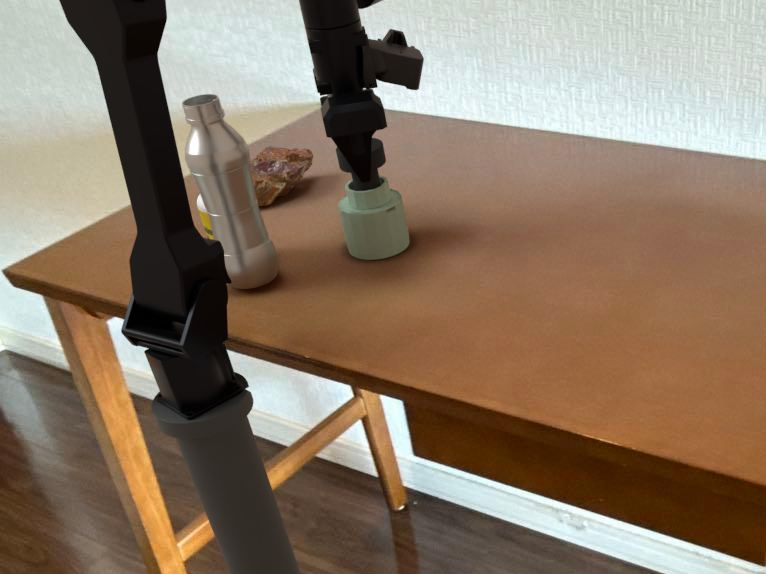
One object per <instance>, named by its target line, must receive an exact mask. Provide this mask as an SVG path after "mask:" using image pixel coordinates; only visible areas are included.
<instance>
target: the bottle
mask: <svg viewBox="0 0 766 574" xmlns="http://www.w3.org/2000/svg"><path fill="white" fill-rule="evenodd" d="M379 178H380V183H381V186H379V187H377V188H375V189H371V190H367V191H355V189H354V184H353V180H352V179H351V180H349V181H348V182H347V183H346V184H345V185H344V189H345V194H346V196H344V197H343V198H342V199H341V200H340V201H339V202H338V206H337V208H338V212H339V216H340V217H339V218H340V221H341V225H342V230H343V234H344V237H345V238H344V239H345V242H346V247H347V249H348V252H349V254H350V255H351V256H352V257H354V258H356V259H360V260H365V261H374V260H383V259H387V258H391V257H393V256H396V255H398V254H400V253H402V252H404V251H405V250H406V249H407V248H408V247H409V246H410V243H411V241H410V240H411V239H410V233H409V227H408V222H407V217H406V210H405V206H404V201H403V196H402V194H401V193H400V192H399V190H396V189H393V188H390V184H389V181H388V179H387V177H385V176H383V175H380V174H379Z"/></svg>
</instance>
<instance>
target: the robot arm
mask: <svg viewBox="0 0 766 574" xmlns="http://www.w3.org/2000/svg"><path fill="white" fill-rule="evenodd" d="M58 1H59V4H60V6H61V8H62V11H63V14H64V16H65V19H66V21H67V23H68V24H69V27H71V29H72V30H73V31H74V33H75V34H76V35H77V37H78V39H79V40H80V41H81V43H82V44H83V45H84V47H85V48H86V49H87V50H88V52H89V54H90V55H91V56H92V57H93V59H94V62H95V64H96V69H97V72H98V76H99V81H100V85H101V89H102V92H103V93H102V94H103V98H104V100H105V104H106V109H107V113H108V117H109V121H110V125H111V129H112V132H113V133H112V134H113V136H114V141H115V145H116V149H117V153H118V157H119V161H120V165H121V169H122V173H123V178H124V182H125V185H126V188H127V189H126V190H127V193H128V197H129V201H130V206H131V209H132V210H131V211H132V214H133V217H134V221H135V222H134V223H135V226H136V235H135V239H134V243H133V245H132V249H131V253H130V255H129V261H128V263H129V270H130V281H131V290H132V291H131V295H130V298H129V302H128V304H127V305H128V306H127V308H126V312H125V314H124V315H125V316H124V319H123V322H122V326H121V329H120V332H121V335H122V336H123V337H124V338H125V339H126V340H127V341H128V342H129V343H130V345H131V346H134V347H141V348H145V350H144V351H143V353H144V355H145V358H146V360H147V362H148V363H147V364H148V365H149V368H150V370H151V372H152V376H153V378H154V381H155V382H156V385H157V387H158V390H159V391H160V393H159V394H158V393H157V394H158V395H157V394H155V396H156V400H157V401H158V402H159V403H161V404H162V405H164V406H166V407H167V408H169V409H170V410H172V411H174V412H175V413H177V414H178V415H180V416H182V417H183V418H185V419H187V420H193V419H195V418H197V417H199V416H200V415H202V414H204V413H206V412H208V411H210V410H211V409H213V408H215V407H217V406H219V405H221V404H222V403H224V402H226V401H228V400H230V399H231V398H233V397H235V396H237V395H239V394H241V393H242V392H243V388H242V386H241V385H239V384H237V383H235V382H233V381H234V380H235V379H236V376H235V373H234V372H235V370H234V367H233V364H232V361H231V358H230V355H229V352H228V349H227V346H226V344H225V343H224V342H226V341H227V340H229V326H228V325H229V323H228V303H229V288H228V285H229V284H231V283H232V281H231V279H230V277H229V276H228V274H227V270H226V267H225V257H224V249H223V247H222V244H221V242H220V241H218V240H213V239H208V238H207V237H203V235H202V234H201V232H199V230H198V229H197V227H196V225H195V222H194V220H193V216H192V210H191V205H190V201H189V196H188V192H187V191H188V190H187V186H186V182H185V178H184V174H183V169H182V164H181V159H180V155H179V150H178V145H177V140H176V137H175V136H176V135H175V132H174V127H173V123H172V117H171V113H170V109H169V108H170V107H169V104H168V100H167V95H166V90H165V86H164V81H163V77H162V72H161V67H160V63H159V49H160V46H161V43H162V40H163V39H162V38H163V36H164V32H165V27H166V25H167V20H168V12H167V0H58ZM382 1H384V0H298V4H299V7H300V12H301V16H302V20H303V25H304V30H305V34H306V39H307V43H308V48H309V52H310V56H311V61H312V65H313V68H312V73H313V74H312V75H313V78H314V83H315V87H316V92H317V94H319V96H320V98H319V102H320V106H321V107H320V114H321V119H322V122H323V126H324V131H325V135H326V138H331V140H332V142H333V143H334V145H335V146H336V148H337V147H338V149H339V150H340V151H341V153H342V154H343V156H344V157H345V159H346V160H347V162H348V163H349V165H350V166H351V168H352V169H353V171H354V172H355V174H356V175H357V177H358V178H359V180H360V181H361V182H362V183H365V182H370V181H371V151H372V138H373V136H374V135H375V133H376V132H377V131H381V130H384V129H387V128H388V122H387V117H386V112H385V108H384V104H383V102H382V99H381V98H380V97H379V96H378V95H376V94H375V91H374V89H376V88H379V87H378V82H377V81H379V82H382V83H387V84H391V85H396V86H401V87H405V88H406V89H407V90H411V91H418V90H419V89H420V84H421V79H422V72H423V67H424V62H425V58H424V56H423V54H422V52H421V50H420V49H418V48H416V47H415V46H414V45H410V46H409V45H408V42H407V38H406V35H405V33H404V32H403V30H402V31H401V30H397V29H393V28H389V30H388V31H387V32H386V34H385V35H384V36H383V38H377V39H372V38H369V36H368V33H366V28H365V25H362V19H361V15H360V11H359V10H363V9H367V8H370V7H371V6H374V5H376V4H378V3H381V2H382Z"/></svg>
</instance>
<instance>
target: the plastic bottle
mask: <svg viewBox="0 0 766 574" xmlns="http://www.w3.org/2000/svg"><path fill="white" fill-rule="evenodd" d="M181 107H182V109H183V113H184V120H185V123H186V124H188V125H190V129H189V133H188V135H187V137H186V141H185V146H184V161H185V164H186V166H187V168H188V170H189V173H190V175H191V177H192V179H193V182H194V184H195V186H196V188H197V190H198V192H199V195H201V197H202V200H203V203H204V206H205V208H206V209H207V214H208V217H209V219H210V224H211V228H212V233H213V237H214V240H218V241H220V242H221V244H222V247H223V249H224V257H225V267H226V270H227V274H228V276H229V277H230V279H231V281H232V283H231V284H228V285H229V286H230V287H232V288H234V289H237V290H238V289H239V290H249V289H255V288H258V287H263V286H264V285H267V284H269V283H270V282H272V281H273V280H275V278H277V275H278V272H279V269H280V261H279V254H278V253H279V252H278V251H277V249H276V246H275V244H274V242H273V240H272V238H271V237H270V235H269V232H268V229H267V226H266V223H265V221H264V218H263V215H262V212H261V210H260V208H259V207H260V206H258V202H257V199H256V192H255V188H254V183H253V177H252V169H251V153H250V149H249V145H248V143H247V142H246V139H245V138H244V137H243V135H241V134H240V133H239V132H238V131H237V130H236V128H235V127H233V126H232V125H230V124H229V123H228V122H227V121H226V120H225V117H226V112H225V109H224V108H223V106H222V103H221V99H220V97H219V95H217V94H215V93H206V94H198V95H194V96H191V97H188V98H186V99H184V100H183V101H182V102H181Z"/></svg>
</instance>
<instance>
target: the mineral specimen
mask: <svg viewBox="0 0 766 574" xmlns="http://www.w3.org/2000/svg"><path fill="white" fill-rule="evenodd" d="M313 159H314V154H313V151H312V150H310V149H309V148H297V147H295V148H292V149H289V148H287V147H279V146H278V147H276V146H272V145H269V146H266V147H265V148H263V149H262V150H261V152H258V154H257V155H255V158H253V159H250V161H251V169H252V177H253V183H254V188H255V192H256V199H257V202H258V206H259V207H265V206H270V205H272V203H274V202H275V201H276V200H277V198H278V197H279V196H283V197H284V196H287V195H288V194H289V193H290V191H291V190H292V189H294V187H295V186H296V185H297V184H298V183H300V182H301V180H302V178H304V175H305V173H306V172H308V171H309V170H310V168H311V167H312V165H313Z"/></svg>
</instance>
